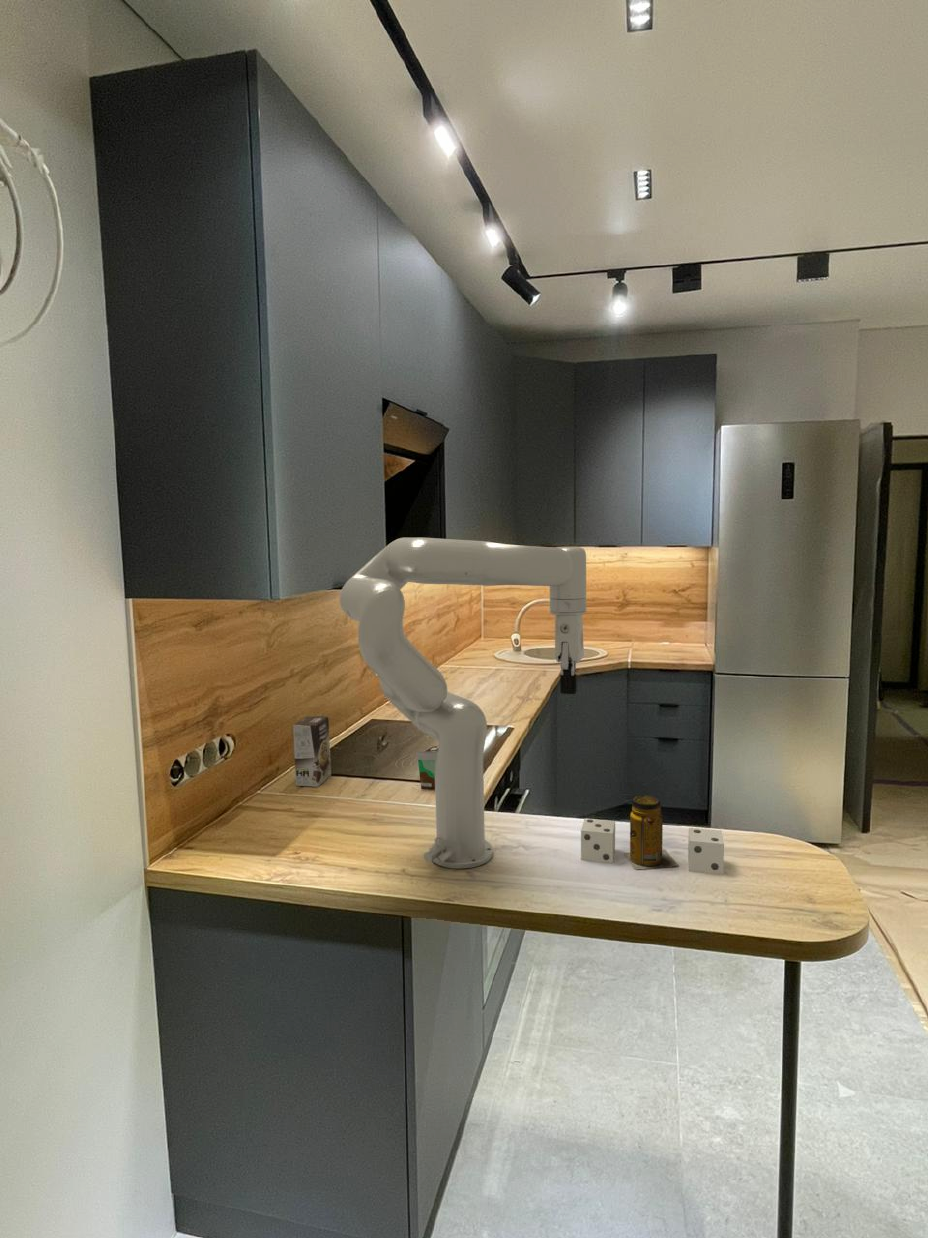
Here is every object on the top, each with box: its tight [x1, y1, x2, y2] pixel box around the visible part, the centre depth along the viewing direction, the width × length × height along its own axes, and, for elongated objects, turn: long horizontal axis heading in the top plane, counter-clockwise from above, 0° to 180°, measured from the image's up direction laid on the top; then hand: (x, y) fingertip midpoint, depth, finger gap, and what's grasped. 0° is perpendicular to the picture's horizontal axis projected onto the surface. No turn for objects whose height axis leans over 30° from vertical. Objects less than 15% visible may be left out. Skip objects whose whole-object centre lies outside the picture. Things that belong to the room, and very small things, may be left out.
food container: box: [415, 745, 439, 791], centre depth 181 cm, size 12×6×10 cm, turn 143°
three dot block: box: [580, 817, 616, 864], centre depth 141 cm, size 6×6×6 cm
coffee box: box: [292, 715, 332, 788], centre depth 187 cm, size 9×6×16 cm
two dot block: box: [687, 827, 725, 876], centre depth 135 cm, size 6×6×6 cm
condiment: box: [623, 795, 680, 870], centre depth 138 cm, size 7×8×12 cm
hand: (568, 692), depth 152 cm, fingers closed
